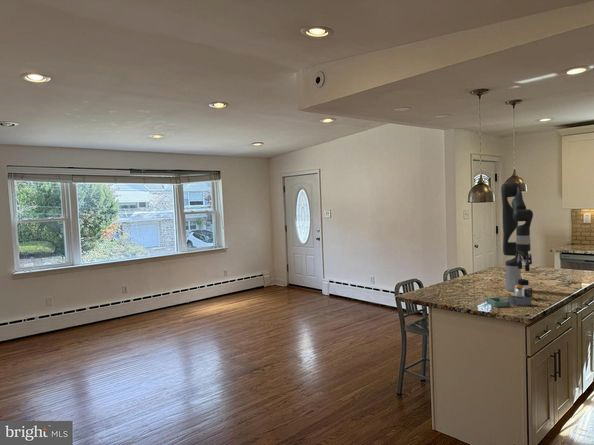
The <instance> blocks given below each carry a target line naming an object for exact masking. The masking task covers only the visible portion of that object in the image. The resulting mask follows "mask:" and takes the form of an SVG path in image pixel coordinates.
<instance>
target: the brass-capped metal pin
mask: <svg viewBox="0 0 594 445" xmlns="http://www.w3.org/2000/svg"><path fill="white" fill-rule="evenodd" d="M515 288H516V297H517V298H522V288H523V285H515Z"/></svg>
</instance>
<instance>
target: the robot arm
mask: <svg viewBox="0 0 594 445" xmlns="http://www.w3.org/2000/svg"><path fill="white" fill-rule="evenodd" d="M500 192H501V194H500V195H501V204H502V230H503V231H502V253H503V255H504V256H506V257H507V256H509V257H511V256H513V257H514V258H512V259H508V260H506V261H505V291H509V292H515V285H518V280H519V279H522V272H521V270H522V269H523V263H524V271H525V272H530V266H531V265H532V264H533V259H532V257H533V256H532V253H529V252H531V250H532V249H531V231H530V230H531V224H532V221H533V218H534V213H533V211H532V210H531V209H530V208H529V209H528V208H527V206H526V204H525V201H524V198H523V192H522V188H521V185H520V183H518V182H507V183H503V184H501V187H500ZM508 198H513V199H512V200H511V203H510V202H509V200H508ZM519 222H524V223H523V224H520V225H519ZM515 230H516V231H515ZM514 232H516V237H515V242H513V241H511V242H509V239H510V238H511V236H512V234H513V233H514Z"/></svg>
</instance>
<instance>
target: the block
mask: <svg viewBox="0 0 594 445" xmlns="http://www.w3.org/2000/svg"><path fill="white" fill-rule="evenodd" d="M507 301H508V302H509V305H513V306H515V307H526V306H527V307H528V306H532V298H531V299H530V298H528V297H525V296H523V295H522V298H517V297H516V296H515V295H508V296H507Z"/></svg>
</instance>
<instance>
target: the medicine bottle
mask: <svg viewBox="0 0 594 445" xmlns="http://www.w3.org/2000/svg"><path fill="white" fill-rule="evenodd" d="M518 285H523V288H522V295H523V296H525V297H528V298H530V299H531V300H532V299H533V287H531V286H529V285H530V282H529V280H528V279H527V278H521V279H519V280H518ZM514 296H516V288H515V291H514Z"/></svg>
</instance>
